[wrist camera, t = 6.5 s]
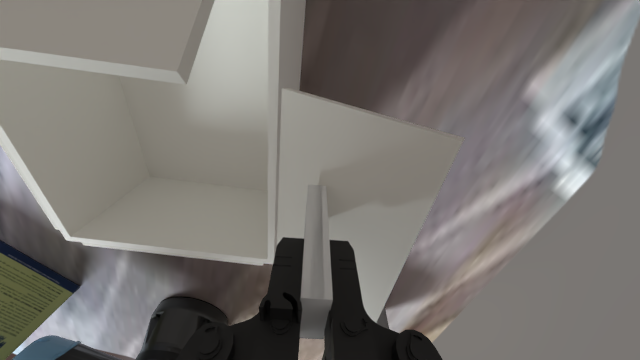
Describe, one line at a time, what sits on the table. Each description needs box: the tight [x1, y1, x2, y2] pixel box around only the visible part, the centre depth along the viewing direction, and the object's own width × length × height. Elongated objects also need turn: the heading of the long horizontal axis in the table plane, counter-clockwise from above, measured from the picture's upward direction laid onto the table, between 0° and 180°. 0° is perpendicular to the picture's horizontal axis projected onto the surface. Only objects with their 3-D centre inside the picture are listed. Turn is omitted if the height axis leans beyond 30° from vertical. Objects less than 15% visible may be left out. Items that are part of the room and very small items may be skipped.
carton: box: [0, 0, 306, 266], centre depth 21 cm, size 24×20×12 cm
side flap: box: [277, 88, 465, 323], centre depth 14 cm, size 13×1×9 cm
